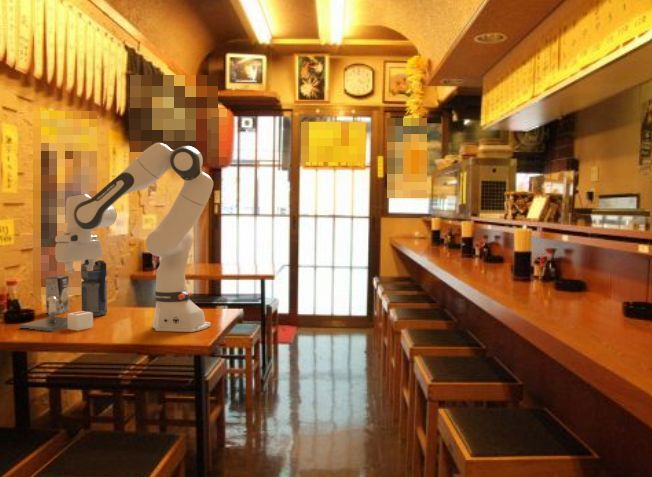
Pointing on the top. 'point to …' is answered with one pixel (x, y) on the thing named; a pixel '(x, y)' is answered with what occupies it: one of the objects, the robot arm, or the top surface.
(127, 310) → the top surface
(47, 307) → the coffee box
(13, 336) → the top surface
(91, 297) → the beverage bottle
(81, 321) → the white cube
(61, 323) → the post stand
